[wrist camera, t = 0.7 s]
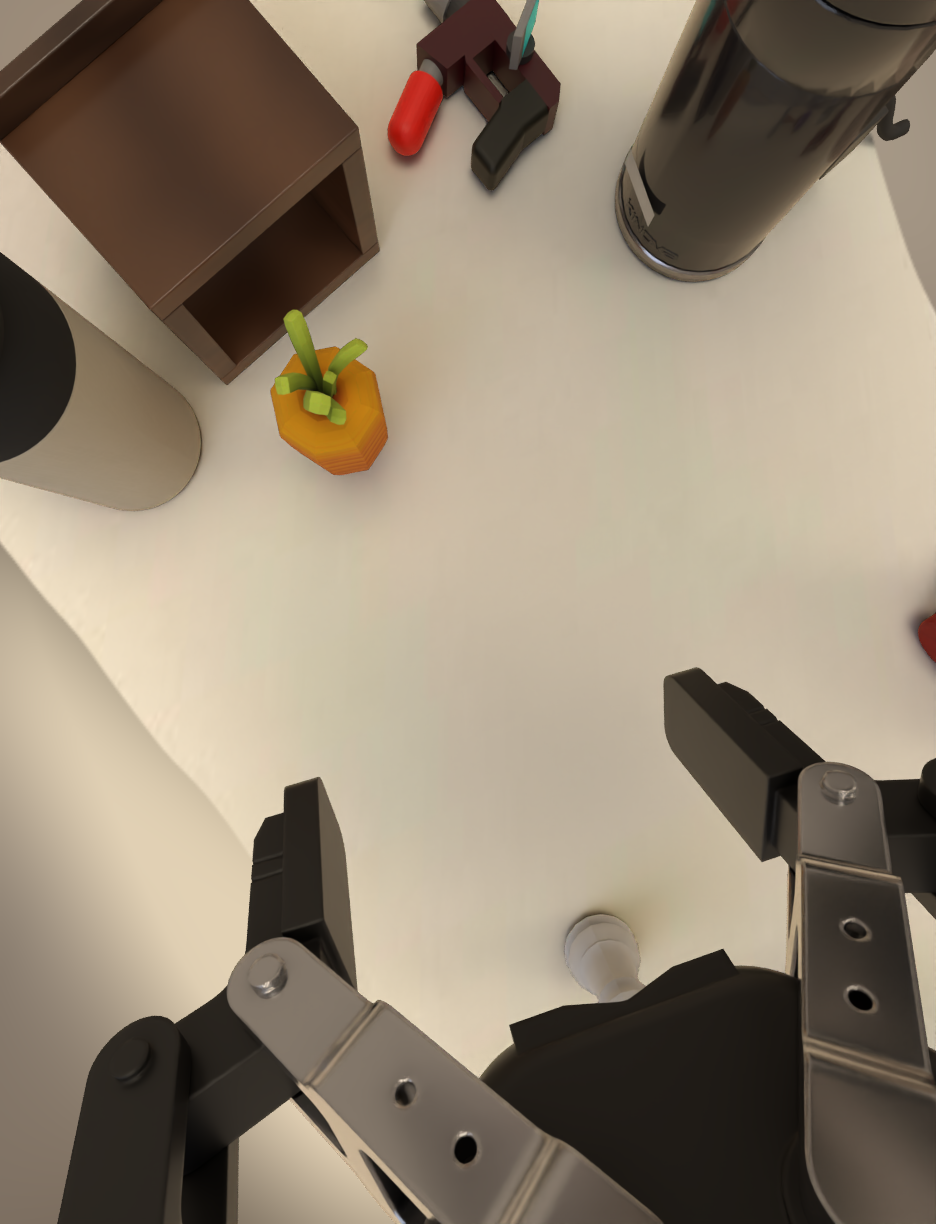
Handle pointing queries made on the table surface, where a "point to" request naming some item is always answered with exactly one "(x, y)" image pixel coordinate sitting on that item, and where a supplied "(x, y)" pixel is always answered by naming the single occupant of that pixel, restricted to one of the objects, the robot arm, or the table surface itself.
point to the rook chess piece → (604, 958)
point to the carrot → (329, 403)
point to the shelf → (194, 164)
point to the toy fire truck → (928, 636)
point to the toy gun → (479, 83)
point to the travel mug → (84, 407)
